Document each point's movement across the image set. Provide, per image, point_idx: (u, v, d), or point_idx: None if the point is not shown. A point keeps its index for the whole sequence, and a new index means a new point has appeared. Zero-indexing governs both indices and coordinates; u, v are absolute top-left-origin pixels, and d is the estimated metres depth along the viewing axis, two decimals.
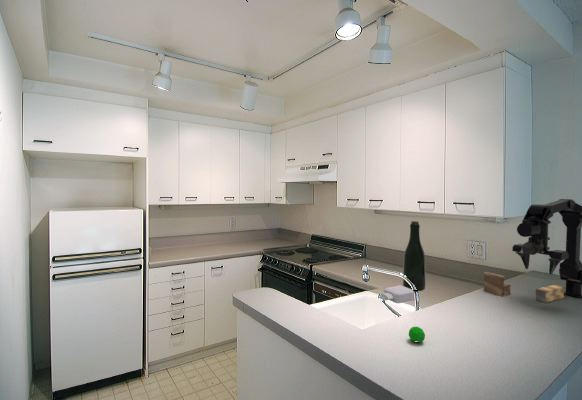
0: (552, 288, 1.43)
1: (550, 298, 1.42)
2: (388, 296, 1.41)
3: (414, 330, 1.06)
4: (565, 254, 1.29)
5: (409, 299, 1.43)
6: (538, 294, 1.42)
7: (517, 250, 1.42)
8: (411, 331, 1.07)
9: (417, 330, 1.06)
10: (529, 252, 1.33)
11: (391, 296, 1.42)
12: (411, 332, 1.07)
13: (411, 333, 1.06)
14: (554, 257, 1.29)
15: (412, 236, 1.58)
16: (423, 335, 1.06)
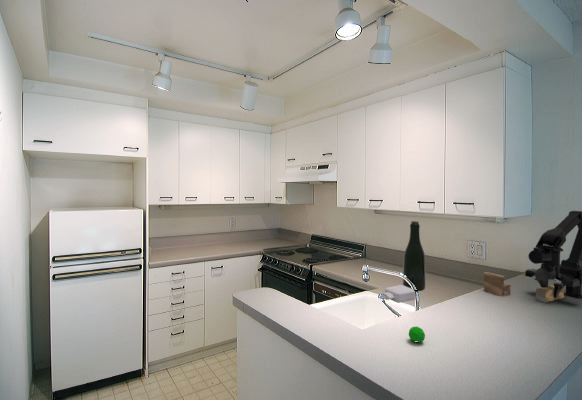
0: (552, 288, 1.43)
1: (550, 298, 1.42)
2: (389, 295, 1.42)
3: (414, 330, 1.06)
4: (576, 282, 1.36)
5: (410, 298, 1.44)
6: (538, 294, 1.42)
7: (530, 275, 1.49)
8: (411, 331, 1.07)
9: (417, 330, 1.06)
10: (542, 278, 1.40)
11: (392, 295, 1.43)
12: (411, 332, 1.07)
13: (411, 333, 1.06)
14: (566, 284, 1.36)
15: (412, 236, 1.58)
16: (423, 335, 1.06)
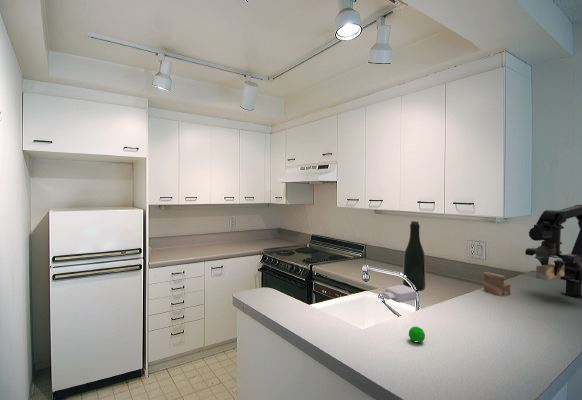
0: (552, 266, 1.43)
1: (550, 276, 1.41)
2: (390, 295, 1.42)
3: (414, 330, 1.06)
4: (577, 258, 1.35)
5: (411, 298, 1.44)
6: (538, 271, 1.42)
7: (530, 254, 1.49)
8: (411, 331, 1.07)
9: (417, 330, 1.06)
10: (542, 256, 1.40)
11: (393, 295, 1.43)
12: (411, 332, 1.07)
13: (411, 333, 1.06)
14: (566, 261, 1.36)
15: (412, 236, 1.58)
16: (423, 335, 1.06)
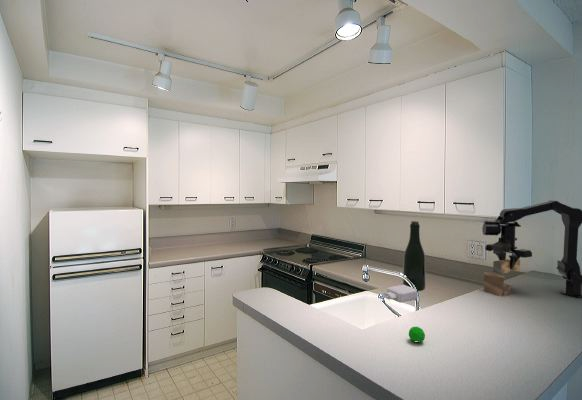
0: (508, 260, 1.55)
1: (506, 270, 1.53)
2: (391, 295, 1.42)
3: (414, 330, 1.06)
4: (529, 253, 1.47)
5: (412, 298, 1.44)
6: (495, 266, 1.53)
7: (489, 249, 1.60)
8: (411, 331, 1.07)
9: (417, 330, 1.06)
10: (498, 251, 1.51)
11: (394, 295, 1.43)
12: (411, 332, 1.07)
13: (411, 333, 1.06)
14: (519, 255, 1.47)
15: (412, 236, 1.58)
16: (423, 335, 1.06)
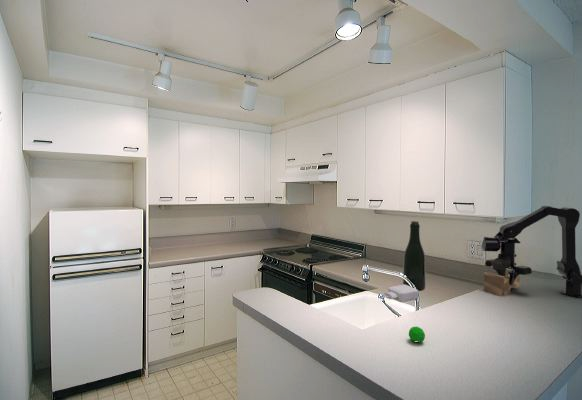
0: (508, 277, 1.55)
1: None
2: (392, 295, 1.43)
3: (414, 330, 1.06)
4: (528, 270, 1.47)
5: (413, 298, 1.44)
6: None
7: (489, 265, 1.61)
8: (411, 331, 1.07)
9: (417, 330, 1.06)
10: (498, 267, 1.52)
11: (395, 295, 1.43)
12: (411, 332, 1.07)
13: (411, 333, 1.06)
14: (519, 272, 1.48)
15: (412, 236, 1.58)
16: (423, 335, 1.06)
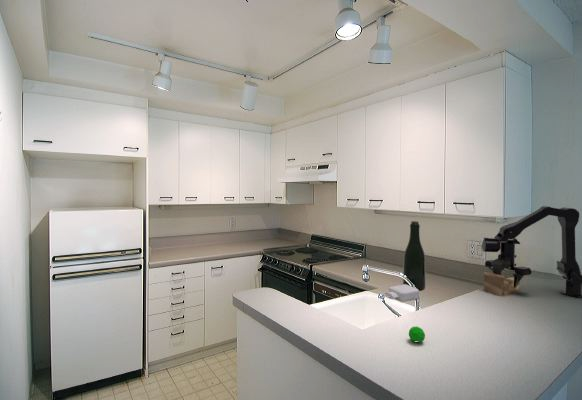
0: (508, 280, 1.55)
1: None
2: (393, 295, 1.43)
3: (414, 330, 1.06)
4: (528, 270, 1.47)
5: (414, 298, 1.44)
6: None
7: (489, 265, 1.61)
8: (411, 331, 1.07)
9: (417, 330, 1.06)
10: (497, 268, 1.52)
11: (396, 295, 1.43)
12: (411, 332, 1.07)
13: (411, 333, 1.06)
14: (518, 273, 1.48)
15: (412, 236, 1.58)
16: (423, 335, 1.06)
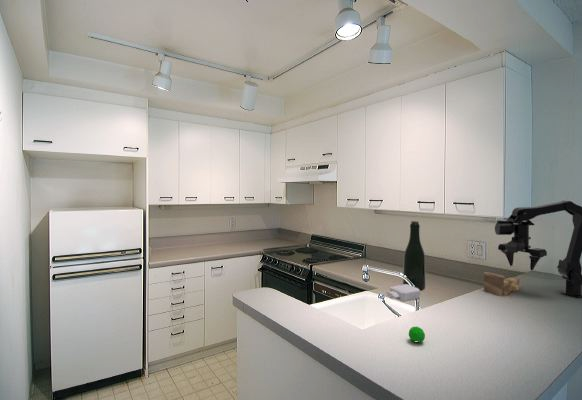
0: (508, 280, 1.55)
1: None
2: (394, 294, 1.43)
3: (414, 330, 1.06)
4: (543, 252, 1.44)
5: (415, 298, 1.45)
6: None
7: (502, 249, 1.58)
8: (411, 331, 1.07)
9: (417, 330, 1.06)
10: (512, 250, 1.49)
11: (397, 294, 1.44)
12: (411, 332, 1.07)
13: (411, 333, 1.06)
14: (534, 254, 1.45)
15: (412, 236, 1.58)
16: (423, 335, 1.06)
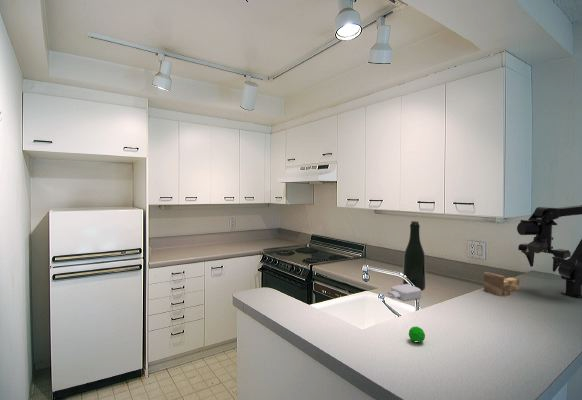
0: (508, 280, 1.55)
1: None
2: (395, 294, 1.44)
3: (414, 330, 1.06)
4: (567, 253, 1.40)
5: (416, 297, 1.45)
6: None
7: (523, 249, 1.53)
8: (411, 331, 1.07)
9: (417, 330, 1.06)
10: (534, 251, 1.44)
11: (398, 294, 1.44)
12: (411, 332, 1.07)
13: (411, 333, 1.06)
14: (557, 255, 1.40)
15: (412, 236, 1.58)
16: (423, 335, 1.06)
